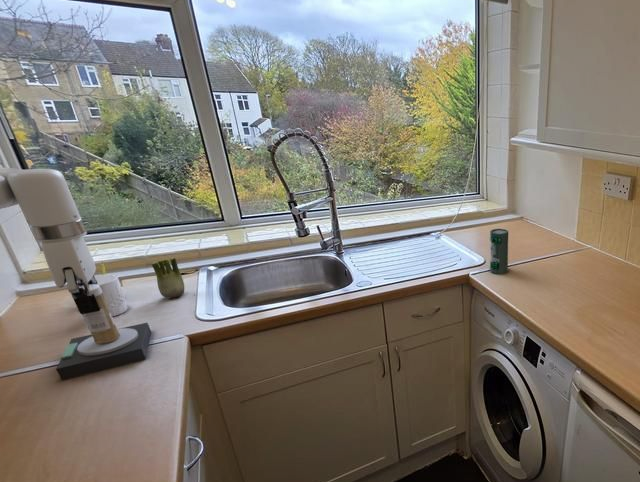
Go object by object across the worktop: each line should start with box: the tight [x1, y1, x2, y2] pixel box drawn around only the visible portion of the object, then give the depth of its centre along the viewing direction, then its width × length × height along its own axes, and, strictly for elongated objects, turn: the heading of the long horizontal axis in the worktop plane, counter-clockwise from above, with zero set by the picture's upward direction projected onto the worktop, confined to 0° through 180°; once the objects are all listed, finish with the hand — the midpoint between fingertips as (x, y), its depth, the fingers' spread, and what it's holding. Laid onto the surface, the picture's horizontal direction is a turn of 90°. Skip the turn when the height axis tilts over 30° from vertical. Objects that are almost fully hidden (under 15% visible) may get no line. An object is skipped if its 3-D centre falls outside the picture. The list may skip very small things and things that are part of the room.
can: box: [489, 228, 509, 275], centre depth 145 cm, size 6×6×15 cm
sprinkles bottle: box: [79, 284, 120, 344], centre depth 92 cm, size 5×5×13 cm
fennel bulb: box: [151, 257, 185, 299], centre depth 121 cm, size 6×5×12 cm
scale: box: [55, 322, 152, 381], centre depth 96 cm, size 14×14×4 cm
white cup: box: [79, 274, 129, 317], centre depth 112 cm, size 8×8×10 cm
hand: (92, 306), depth 92 cm, fingers closed on sprinkles bottle, 4 cm apart
